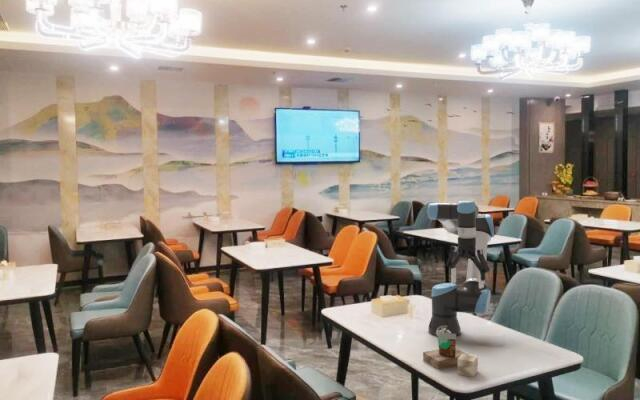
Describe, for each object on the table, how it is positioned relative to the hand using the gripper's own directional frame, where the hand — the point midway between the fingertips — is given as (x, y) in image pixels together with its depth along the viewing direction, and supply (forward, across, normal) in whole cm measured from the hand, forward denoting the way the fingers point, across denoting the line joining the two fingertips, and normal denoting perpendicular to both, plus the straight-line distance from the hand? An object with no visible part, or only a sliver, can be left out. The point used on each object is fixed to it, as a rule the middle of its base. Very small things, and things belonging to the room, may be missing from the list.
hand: (467, 285), depth 227 cm
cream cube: (+28, +15, -24) cm, 39 cm away
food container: (+24, +2, -21) cm, 32 cm away
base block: (+28, +3, -20) cm, 35 cm away
